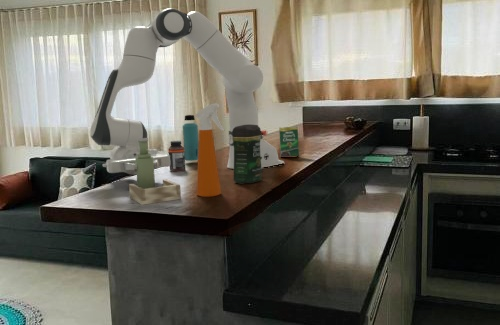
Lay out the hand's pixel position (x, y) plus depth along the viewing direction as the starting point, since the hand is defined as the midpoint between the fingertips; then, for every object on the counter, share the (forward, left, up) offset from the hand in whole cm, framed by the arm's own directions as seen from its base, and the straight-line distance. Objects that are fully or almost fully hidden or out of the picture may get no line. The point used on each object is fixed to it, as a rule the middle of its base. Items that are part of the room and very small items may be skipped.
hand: (145, 166), depth 152 cm
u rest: (+2, +13, -8) cm, 15 cm away
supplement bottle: (-21, -28, -8) cm, 36 cm away
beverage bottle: (-33, -42, -8) cm, 54 cm away
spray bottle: (-13, +20, -8) cm, 25 cm away
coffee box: (-71, -26, -8) cm, 76 cm away
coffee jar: (-31, +9, -8) cm, 33 cm away
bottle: (0, -1, -8) cm, 8 cm away
